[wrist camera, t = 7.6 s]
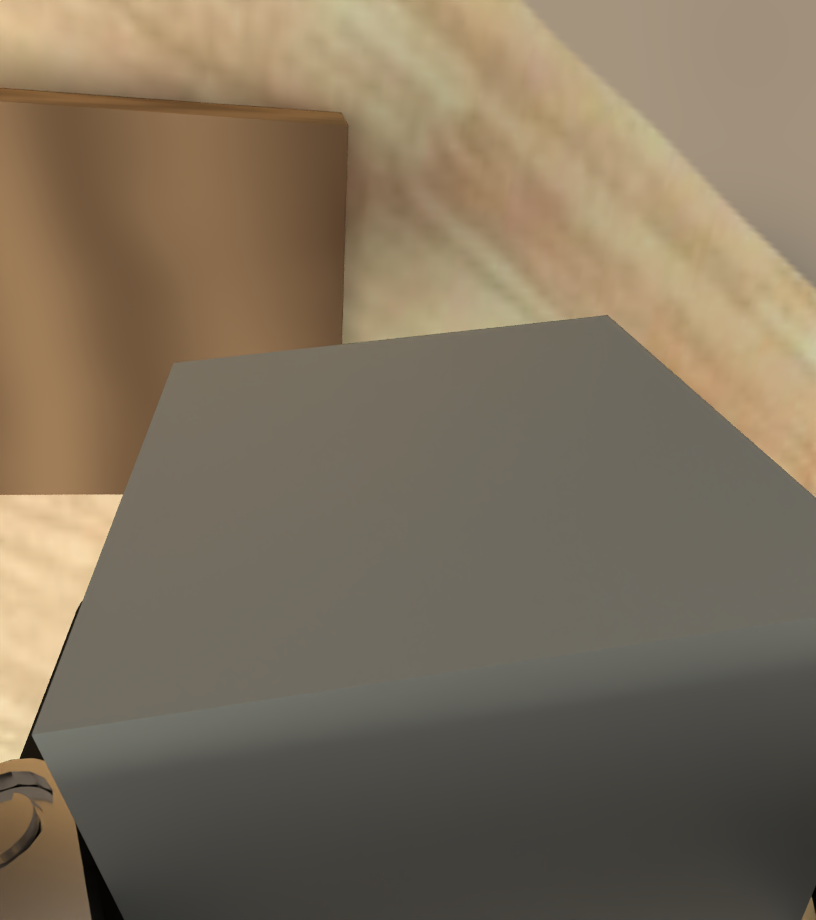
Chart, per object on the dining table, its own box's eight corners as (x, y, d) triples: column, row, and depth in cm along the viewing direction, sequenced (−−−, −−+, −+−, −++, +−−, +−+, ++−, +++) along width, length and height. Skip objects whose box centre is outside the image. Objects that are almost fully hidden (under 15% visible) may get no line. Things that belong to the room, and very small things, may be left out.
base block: (340, 112, 24) (348, 125, 20) (332, 429, 30) (337, 493, 26) (-45, 83, 22) (-129, 92, 18) (26, 426, 28) (-24, 494, 24)
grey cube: (607, 315, 10) (933, 599, 5) (582, 629, 13) (764, 1007, 8) (173, 363, 10) (32, 734, 4) (251, 678, 13) (221, 1114, 8)
